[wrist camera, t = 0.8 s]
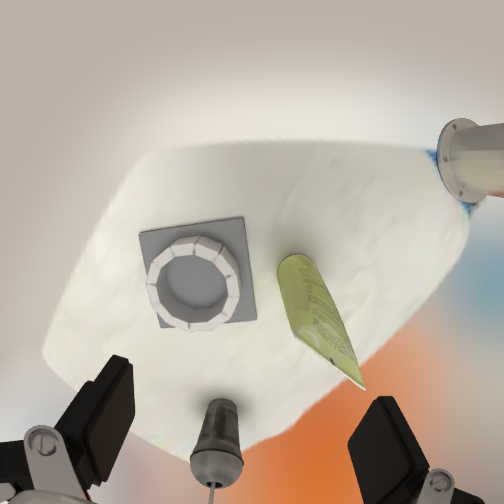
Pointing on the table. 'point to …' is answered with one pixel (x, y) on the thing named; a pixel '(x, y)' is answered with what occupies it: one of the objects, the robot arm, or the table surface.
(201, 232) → the socket board
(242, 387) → the table surface
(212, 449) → the beverage cup
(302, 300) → the tube
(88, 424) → the robot arm
